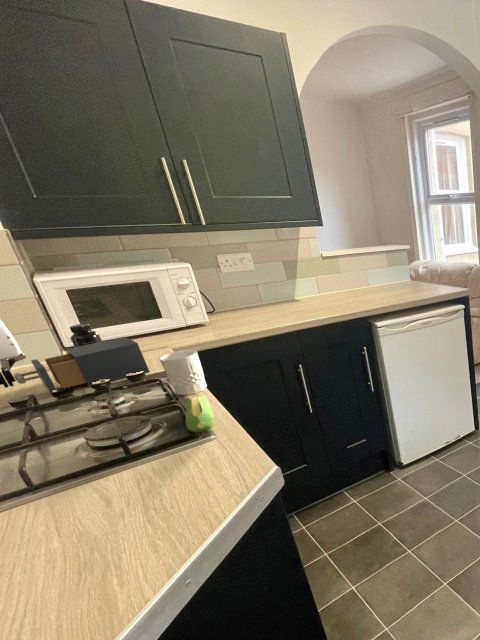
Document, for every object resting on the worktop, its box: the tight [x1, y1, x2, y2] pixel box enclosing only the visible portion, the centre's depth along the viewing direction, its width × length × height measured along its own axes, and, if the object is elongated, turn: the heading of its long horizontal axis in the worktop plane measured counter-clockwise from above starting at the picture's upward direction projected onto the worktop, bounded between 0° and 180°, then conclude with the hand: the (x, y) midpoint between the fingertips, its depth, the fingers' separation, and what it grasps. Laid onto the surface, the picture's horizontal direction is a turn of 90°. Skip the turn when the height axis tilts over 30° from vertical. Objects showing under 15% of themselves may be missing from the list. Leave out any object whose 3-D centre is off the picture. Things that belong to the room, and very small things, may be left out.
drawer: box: [13, 353, 87, 393], centre depth 116 cm, size 17×11×7 cm
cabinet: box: [65, 336, 150, 388], centre depth 123 cm, size 14×13×9 cm
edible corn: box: [185, 395, 215, 433], centre depth 95 cm, size 5×20×5 cm, turn 37°
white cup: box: [159, 349, 208, 396], centre depth 110 cm, size 8×8×10 cm
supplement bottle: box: [69, 322, 103, 348], centre depth 136 cm, size 7×7×12 cm
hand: (8, 385), depth 109 cm, fingers closed
